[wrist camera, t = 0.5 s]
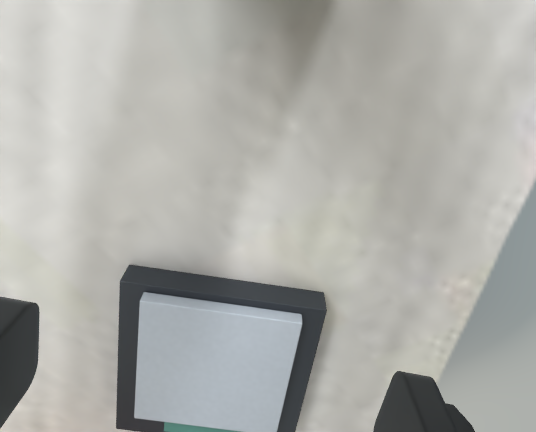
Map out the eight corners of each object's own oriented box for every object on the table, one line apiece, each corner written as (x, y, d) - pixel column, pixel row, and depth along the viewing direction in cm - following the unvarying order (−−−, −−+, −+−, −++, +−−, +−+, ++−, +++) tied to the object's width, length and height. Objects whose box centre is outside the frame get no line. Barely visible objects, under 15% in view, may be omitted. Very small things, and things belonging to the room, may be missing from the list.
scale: (129, 264, 30) (114, 290, 27) (323, 292, 31) (328, 320, 28) (124, 407, 35) (111, 440, 33) (289, 428, 36) (290, 462, 33)
